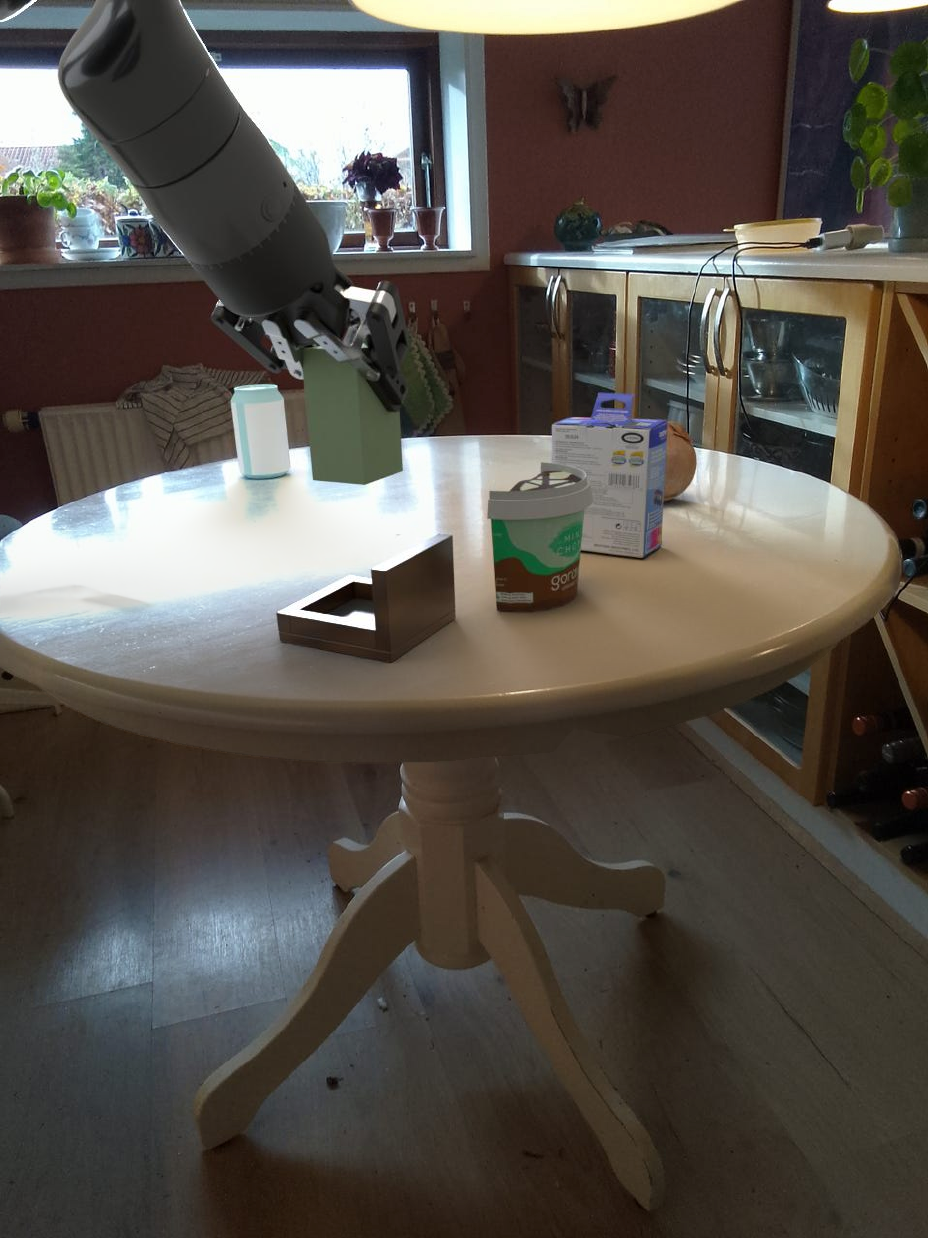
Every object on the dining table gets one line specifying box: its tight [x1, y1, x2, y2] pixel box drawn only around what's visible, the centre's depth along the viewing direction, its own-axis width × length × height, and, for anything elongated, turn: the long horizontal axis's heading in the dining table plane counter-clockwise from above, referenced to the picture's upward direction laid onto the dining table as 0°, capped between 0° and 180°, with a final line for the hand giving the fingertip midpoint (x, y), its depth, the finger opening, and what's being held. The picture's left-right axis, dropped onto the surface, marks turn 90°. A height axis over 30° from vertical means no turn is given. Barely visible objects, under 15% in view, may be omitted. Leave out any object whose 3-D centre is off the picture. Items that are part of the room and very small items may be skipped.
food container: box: [486, 461, 593, 613], centre depth 73 cm, size 12×6×10 cm, turn 155°
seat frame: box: [275, 533, 456, 663], centre depth 68 cm, size 10×10×7 cm
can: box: [230, 384, 291, 480], centre depth 123 cm, size 7×7×12 cm
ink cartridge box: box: [551, 392, 668, 559], centre depth 84 cm, size 10×6×14 cm, turn 61°
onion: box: [663, 420, 698, 503], centre depth 103 cm, size 10×9×10 cm
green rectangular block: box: [302, 343, 404, 486], centre depth 63 cm, size 4×5×9 cm
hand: (367, 400), depth 64 cm, fingers closed on green rectangular block, 4 cm apart
